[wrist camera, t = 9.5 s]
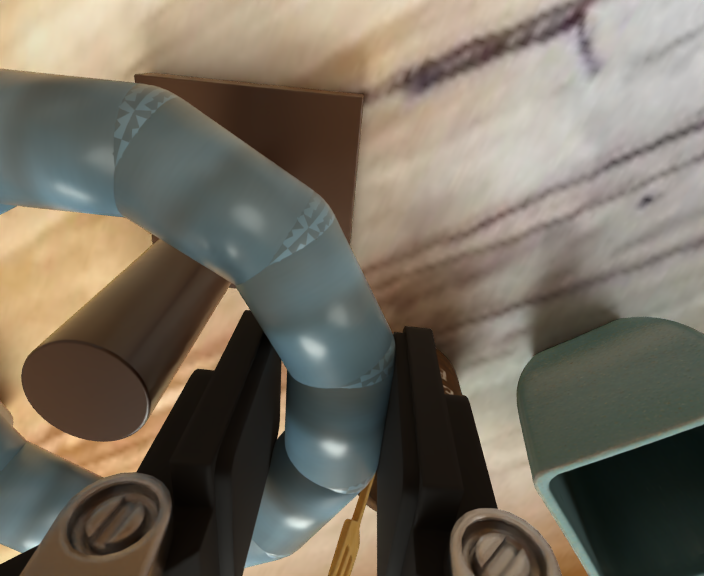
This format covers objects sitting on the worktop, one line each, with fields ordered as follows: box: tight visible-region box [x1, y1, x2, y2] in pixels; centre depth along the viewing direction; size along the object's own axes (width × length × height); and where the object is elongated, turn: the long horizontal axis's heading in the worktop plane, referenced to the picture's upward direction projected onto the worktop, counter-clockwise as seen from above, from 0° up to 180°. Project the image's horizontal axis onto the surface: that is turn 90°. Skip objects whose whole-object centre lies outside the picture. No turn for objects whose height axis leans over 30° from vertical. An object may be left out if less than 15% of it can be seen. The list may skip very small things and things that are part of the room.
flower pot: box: [517, 317, 704, 576], centre depth 21 cm, size 9×9×9 cm
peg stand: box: [21, 73, 364, 442], centre depth 15 cm, size 9×9×14 cm
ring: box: [0, 69, 396, 568], centre depth 9 cm, size 11×11×2 cm
